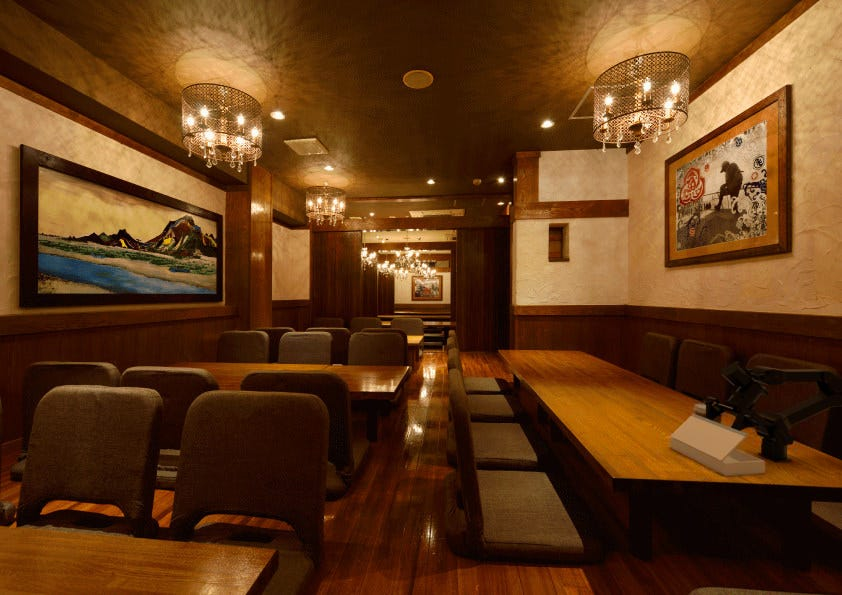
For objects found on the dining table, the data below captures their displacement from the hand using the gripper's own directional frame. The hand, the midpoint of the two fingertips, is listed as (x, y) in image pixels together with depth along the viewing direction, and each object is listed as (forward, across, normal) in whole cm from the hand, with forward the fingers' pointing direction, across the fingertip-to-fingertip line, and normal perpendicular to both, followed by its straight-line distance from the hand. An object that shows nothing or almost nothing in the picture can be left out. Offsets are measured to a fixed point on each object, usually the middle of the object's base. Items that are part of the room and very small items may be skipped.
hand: (717, 429), depth 130 cm
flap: (+4, 0, +2) cm, 5 cm away
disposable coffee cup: (-3, +19, -18) cm, 26 cm away
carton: (+8, 0, -6) cm, 10 cm away
